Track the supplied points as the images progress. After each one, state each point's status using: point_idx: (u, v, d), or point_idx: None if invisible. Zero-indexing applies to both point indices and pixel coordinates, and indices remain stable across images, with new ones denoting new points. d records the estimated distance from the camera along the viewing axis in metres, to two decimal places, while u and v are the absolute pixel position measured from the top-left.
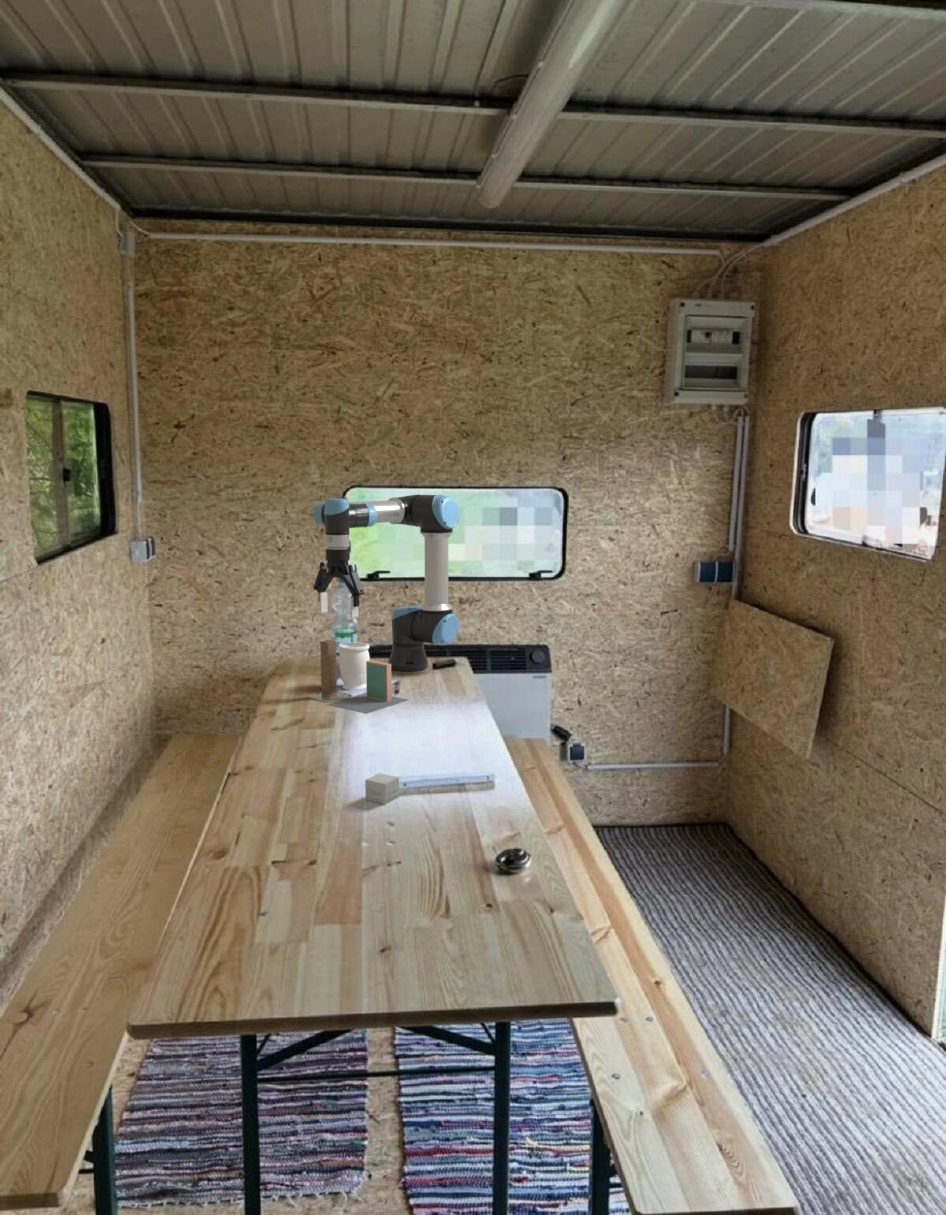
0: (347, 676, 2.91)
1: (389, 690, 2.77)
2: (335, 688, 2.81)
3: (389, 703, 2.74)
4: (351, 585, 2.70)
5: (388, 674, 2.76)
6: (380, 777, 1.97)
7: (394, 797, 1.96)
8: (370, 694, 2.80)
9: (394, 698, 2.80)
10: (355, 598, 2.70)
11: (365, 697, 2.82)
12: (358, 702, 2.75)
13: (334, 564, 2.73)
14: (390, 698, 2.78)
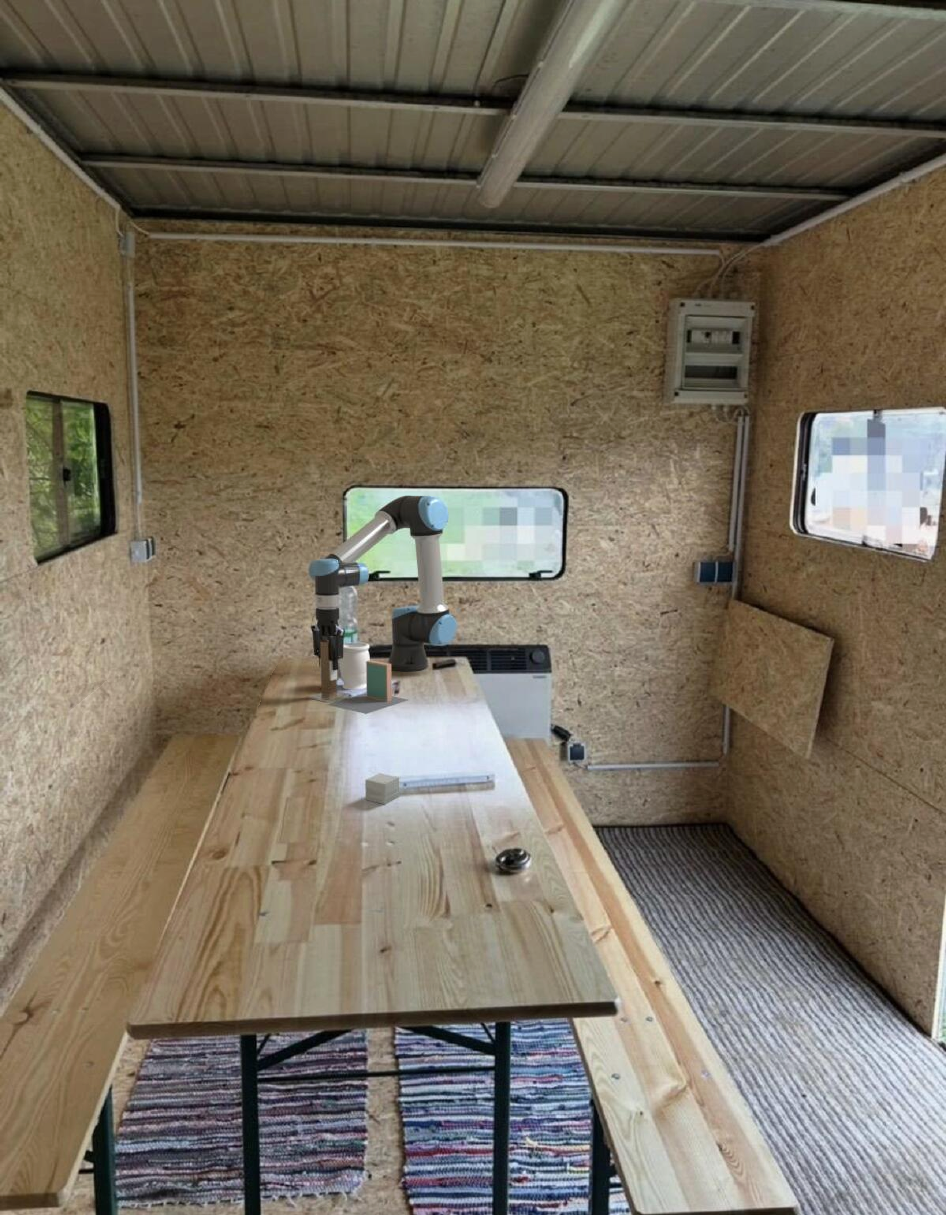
0: (347, 676, 2.91)
1: (389, 690, 2.77)
2: (335, 688, 2.81)
3: (389, 703, 2.74)
4: (333, 649, 2.77)
5: (388, 674, 2.76)
6: (380, 777, 1.97)
7: (394, 797, 1.96)
8: (370, 694, 2.80)
9: (394, 698, 2.80)
10: (334, 662, 2.78)
11: (365, 697, 2.82)
12: (358, 702, 2.75)
13: (324, 623, 2.77)
14: (390, 698, 2.78)
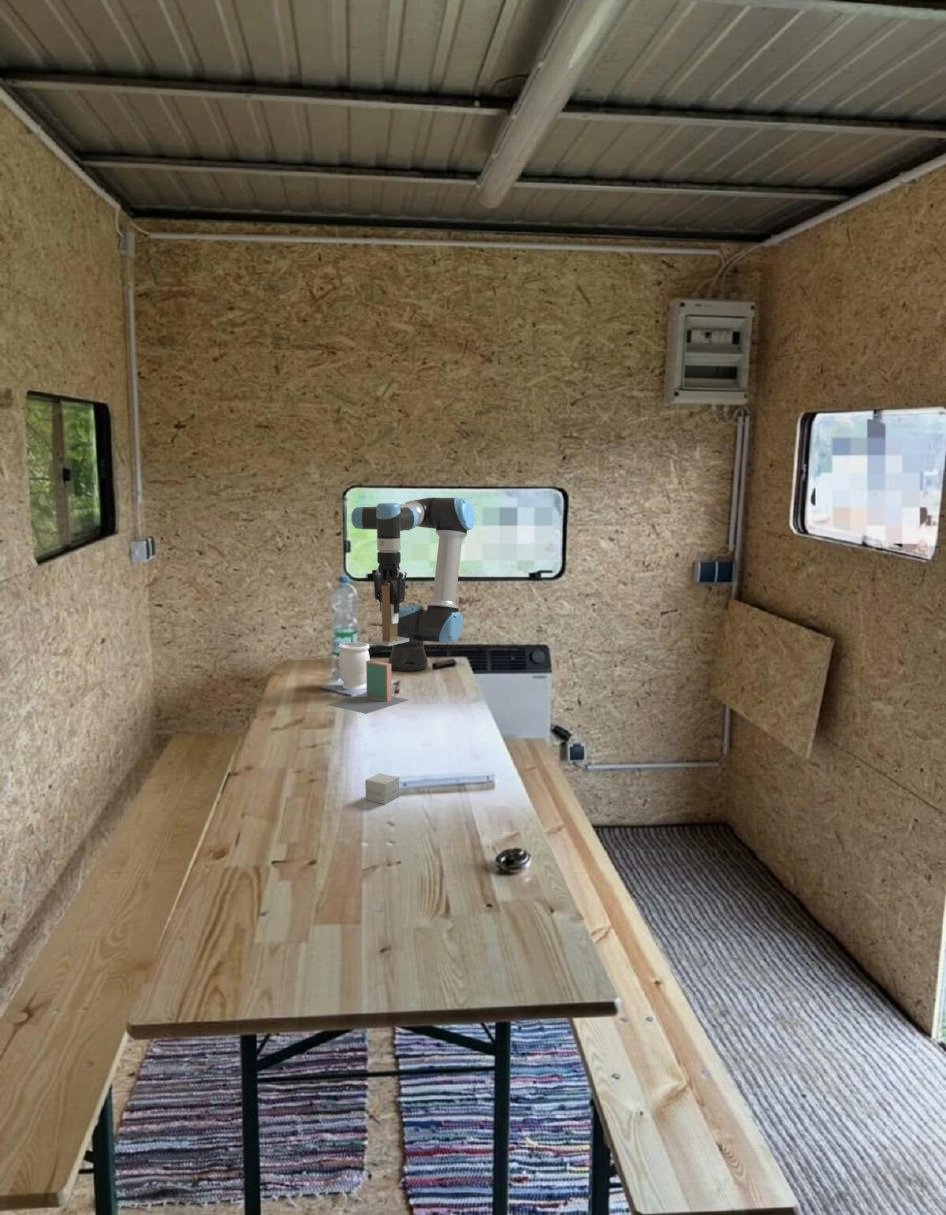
0: (347, 676, 2.91)
1: (389, 690, 2.77)
2: (396, 632, 2.84)
3: (389, 703, 2.74)
4: (395, 592, 2.79)
5: (388, 674, 2.76)
6: (380, 777, 1.97)
7: (394, 797, 1.96)
8: (370, 694, 2.80)
9: (394, 698, 2.80)
10: (395, 605, 2.80)
11: (365, 697, 2.82)
12: (358, 702, 2.75)
13: (385, 567, 2.80)
14: (390, 698, 2.78)
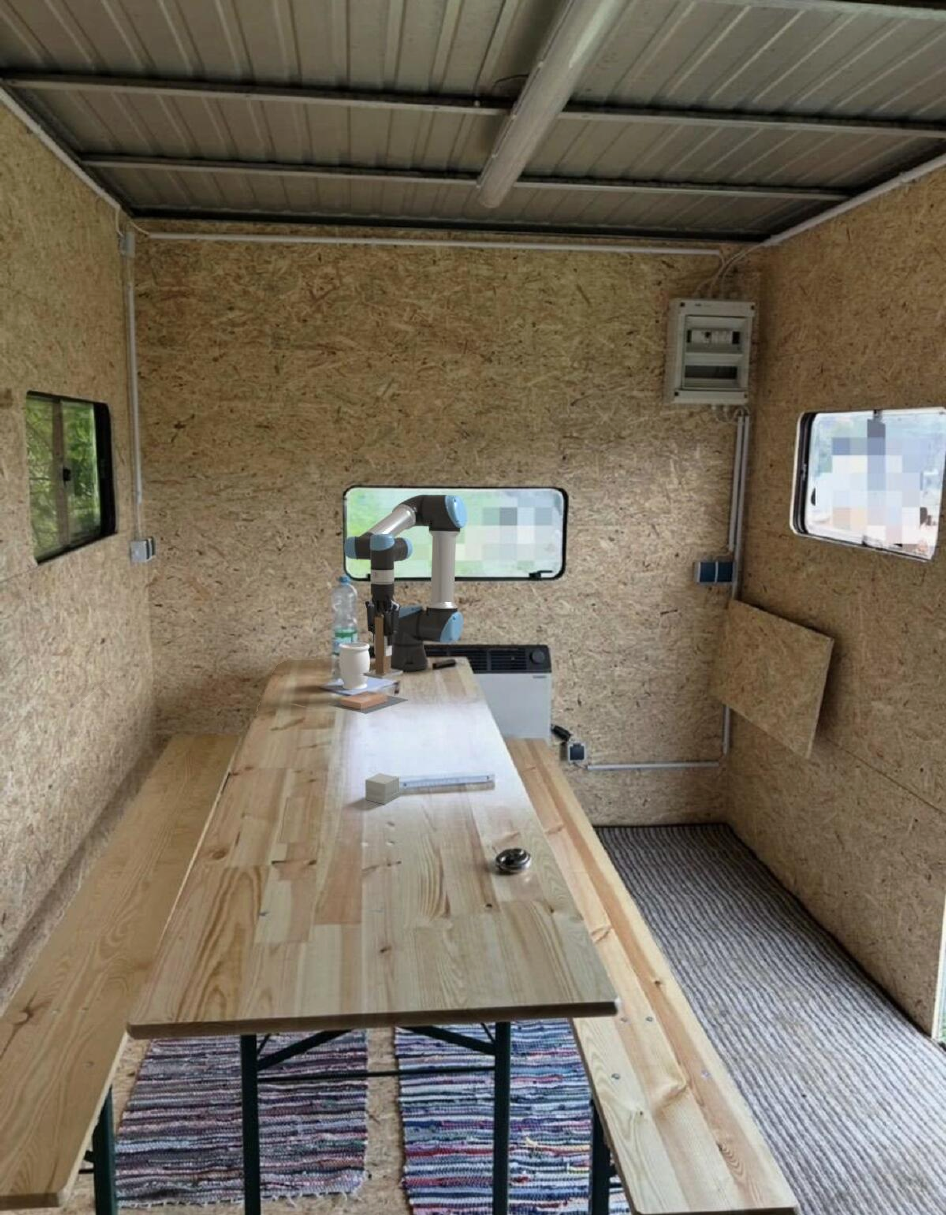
0: (347, 676, 2.91)
1: (379, 701, 2.73)
2: (389, 664, 2.80)
3: (389, 703, 2.74)
4: (388, 624, 2.75)
5: (368, 705, 2.69)
6: (380, 777, 1.97)
7: (394, 797, 1.96)
8: None
9: (394, 698, 2.80)
10: (389, 637, 2.76)
11: None
12: None
13: (379, 598, 2.76)
14: (385, 697, 2.76)
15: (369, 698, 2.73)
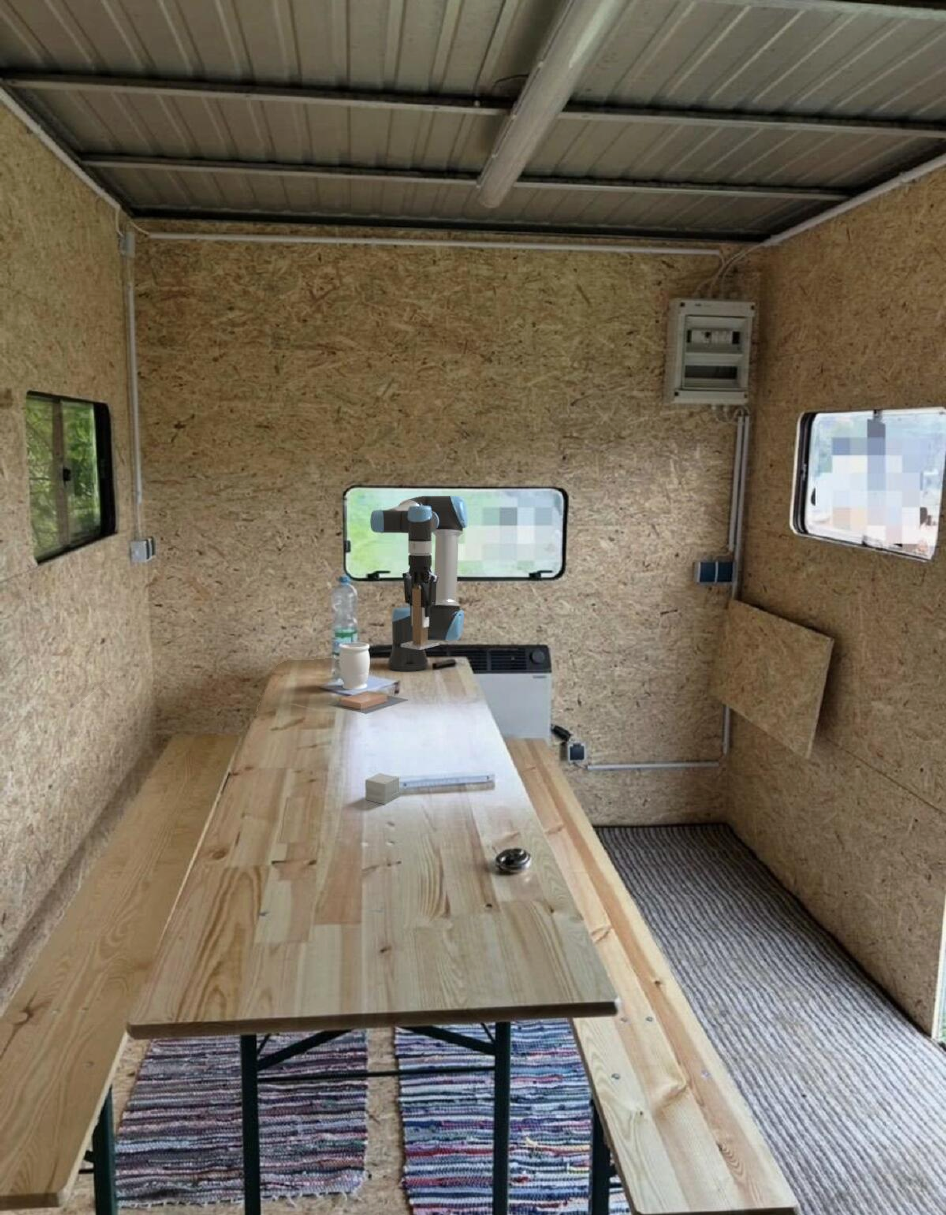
0: (347, 676, 2.91)
1: (379, 701, 2.73)
2: (426, 636, 2.82)
3: (389, 703, 2.74)
4: (426, 595, 2.77)
5: (368, 705, 2.69)
6: (380, 777, 1.97)
7: (394, 797, 1.96)
8: None
9: (394, 698, 2.80)
10: (426, 609, 2.78)
11: None
12: None
13: (416, 570, 2.78)
14: (385, 697, 2.76)
15: (369, 698, 2.73)
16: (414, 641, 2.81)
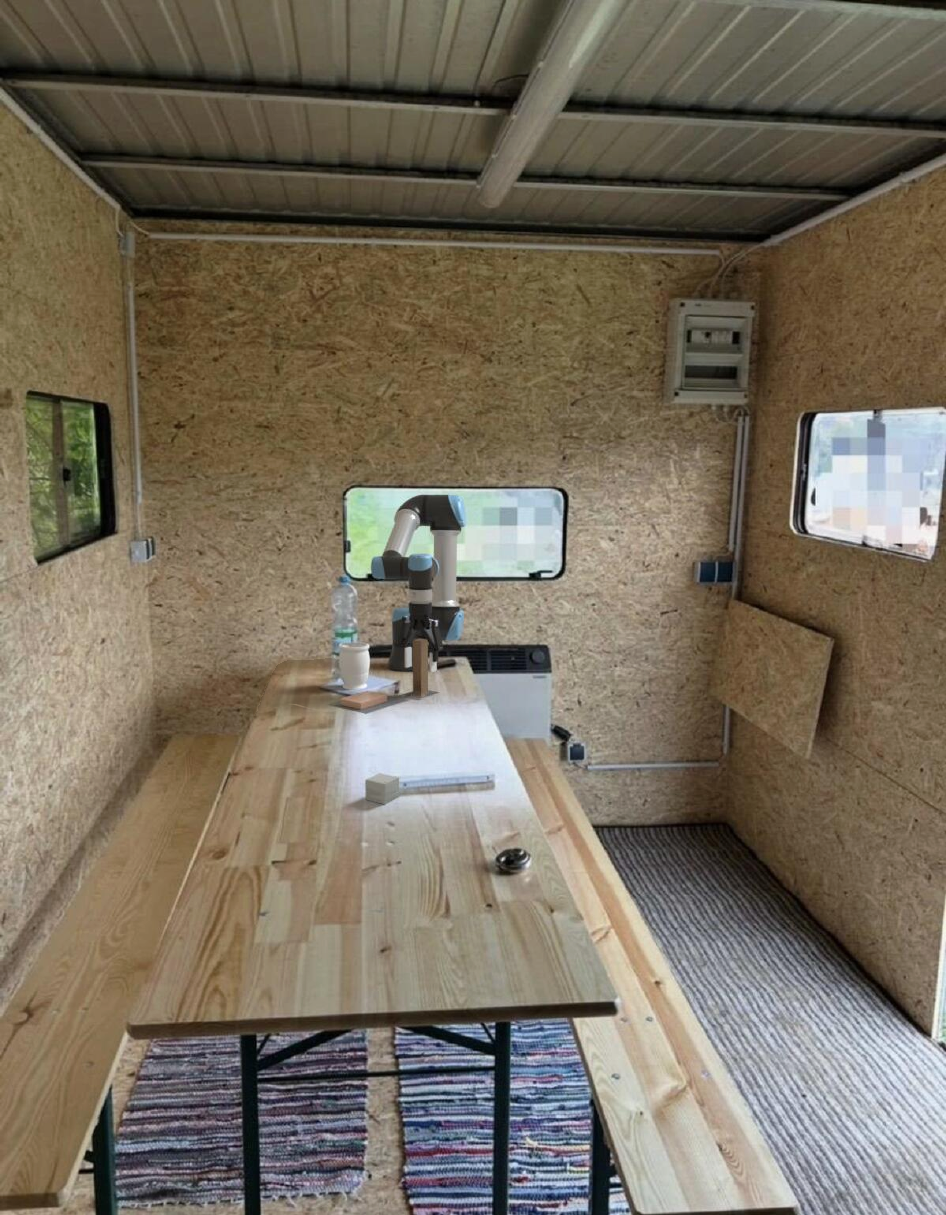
0: (347, 676, 2.91)
1: (379, 701, 2.73)
2: (426, 687, 2.85)
3: (389, 703, 2.74)
4: (431, 641, 2.79)
5: (368, 705, 2.69)
6: (380, 777, 1.97)
7: (394, 797, 1.96)
8: None
9: (394, 698, 2.80)
10: (434, 654, 2.79)
11: None
12: None
13: (417, 617, 2.80)
14: (385, 697, 2.76)
15: (369, 698, 2.73)
16: (414, 692, 2.84)
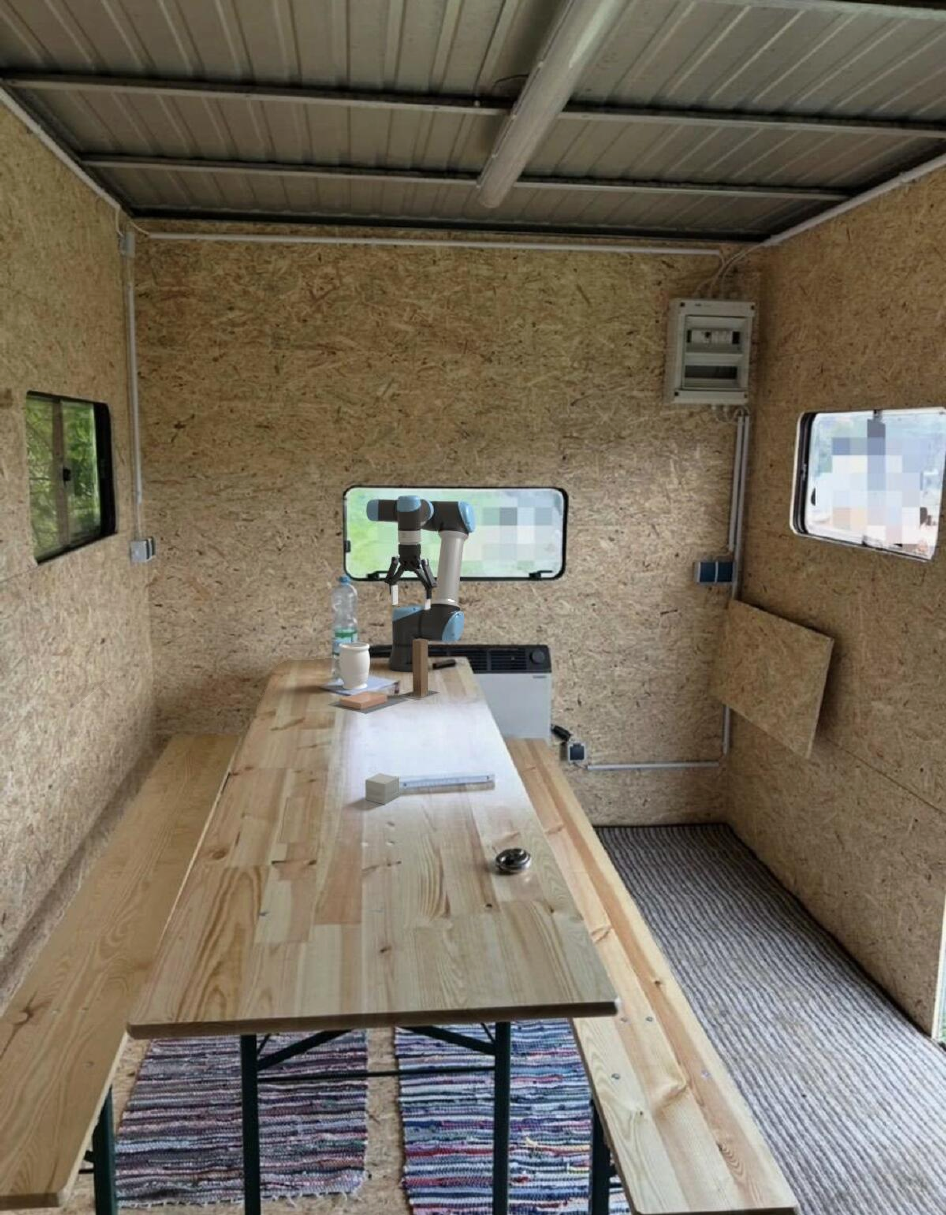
0: (347, 676, 2.91)
1: (379, 701, 2.73)
2: (426, 687, 2.85)
3: (389, 703, 2.74)
4: (423, 579, 2.82)
5: (368, 705, 2.69)
6: (380, 777, 1.97)
7: (394, 797, 1.96)
8: None
9: (394, 698, 2.80)
10: (428, 591, 2.82)
11: None
12: None
13: (406, 558, 2.84)
14: (385, 697, 2.76)
15: (369, 698, 2.73)
16: (414, 692, 2.84)
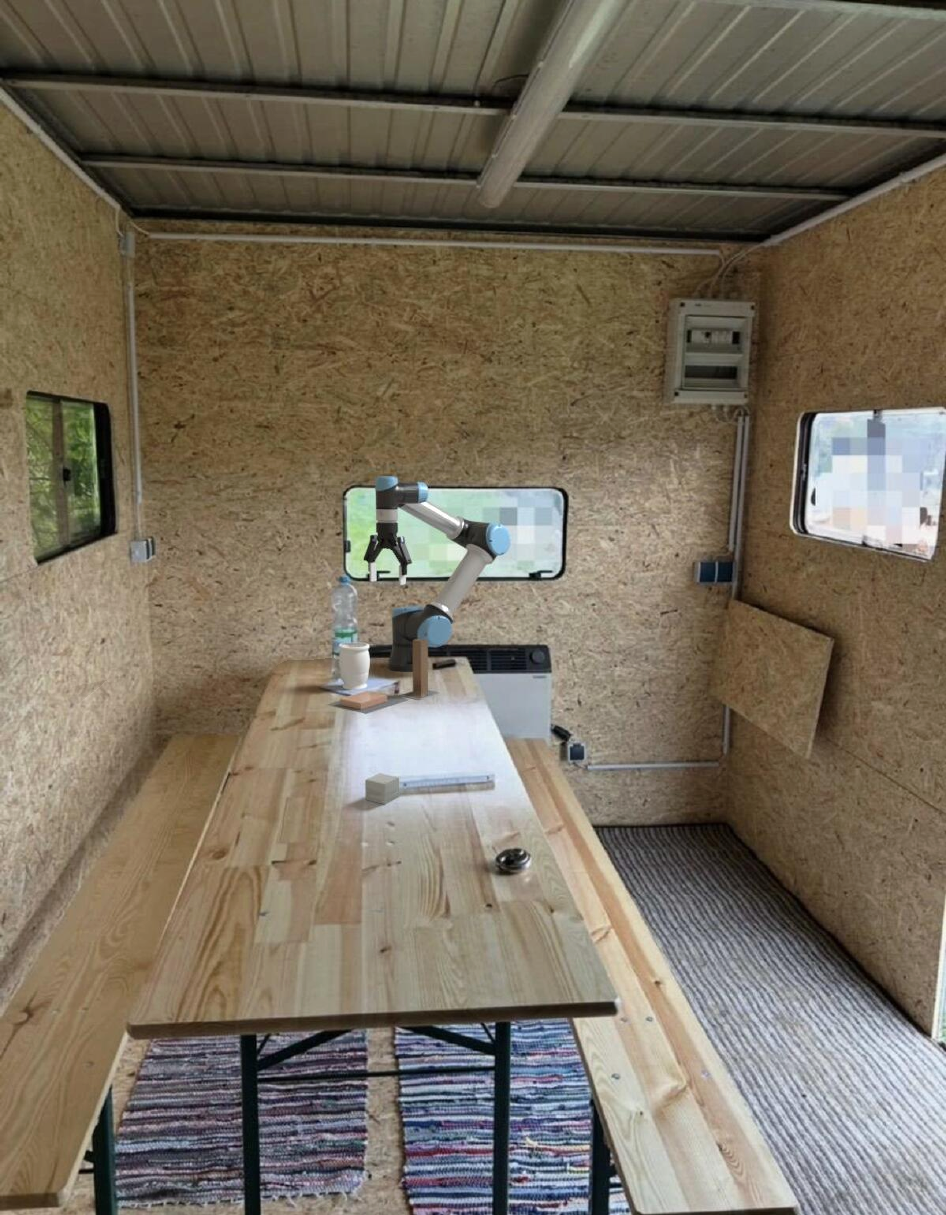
0: (347, 676, 2.91)
1: (379, 701, 2.73)
2: (426, 687, 2.85)
3: (389, 703, 2.74)
4: (399, 555, 2.95)
5: (368, 705, 2.69)
6: (380, 777, 1.97)
7: (394, 797, 1.96)
8: None
9: (394, 698, 2.80)
10: (403, 567, 2.95)
11: None
12: None
13: (384, 536, 2.98)
14: (385, 697, 2.76)
15: (369, 698, 2.73)
16: (414, 692, 2.84)
